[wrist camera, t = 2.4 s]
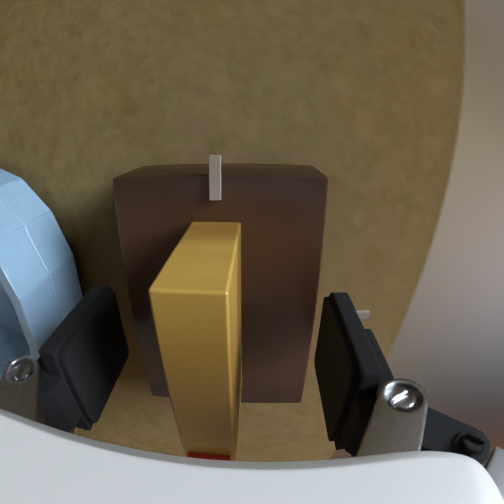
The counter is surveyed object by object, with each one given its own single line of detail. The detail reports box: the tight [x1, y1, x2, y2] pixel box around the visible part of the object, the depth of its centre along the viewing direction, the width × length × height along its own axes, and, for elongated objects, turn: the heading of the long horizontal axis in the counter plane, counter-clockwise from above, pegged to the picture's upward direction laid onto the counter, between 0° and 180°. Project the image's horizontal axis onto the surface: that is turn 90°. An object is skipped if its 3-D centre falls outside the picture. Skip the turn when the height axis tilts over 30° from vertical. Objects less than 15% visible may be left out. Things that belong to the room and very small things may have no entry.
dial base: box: [113, 155, 370, 403], centre depth 13 cm, size 11×11×3 cm
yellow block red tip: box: [149, 222, 242, 461], centre depth 9 cm, size 7×2×5 cm, turn 179°
